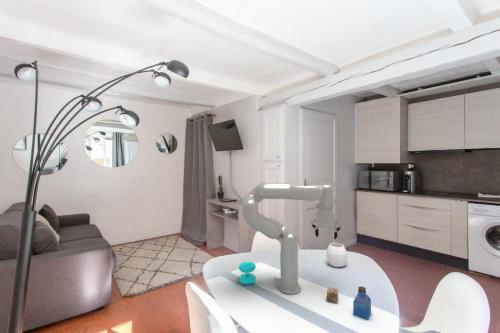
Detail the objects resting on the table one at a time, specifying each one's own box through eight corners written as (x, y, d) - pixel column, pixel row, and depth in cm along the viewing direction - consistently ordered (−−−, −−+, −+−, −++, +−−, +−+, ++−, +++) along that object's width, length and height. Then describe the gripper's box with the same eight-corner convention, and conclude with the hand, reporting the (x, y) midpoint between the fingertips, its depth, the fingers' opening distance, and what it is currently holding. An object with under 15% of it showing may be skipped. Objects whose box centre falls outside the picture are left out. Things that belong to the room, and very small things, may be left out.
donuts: (240, 260, 151) (256, 261, 149) (241, 276, 151) (257, 277, 149) (236, 267, 141) (253, 268, 139) (237, 284, 141) (254, 286, 139)
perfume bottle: (356, 308, 117) (356, 283, 117) (371, 313, 113) (370, 287, 113) (353, 315, 112) (353, 289, 112) (368, 320, 108) (367, 293, 108)
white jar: (322, 264, 165) (322, 245, 165) (332, 259, 174) (332, 240, 174) (341, 271, 156) (341, 250, 155) (351, 264, 165) (350, 244, 164)
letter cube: (326, 301, 123) (326, 291, 123) (328, 296, 127) (327, 286, 127) (337, 304, 121) (337, 293, 121) (338, 298, 125) (338, 288, 125)
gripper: (308, 207, 137) (308, 237, 138) (341, 209, 129) (341, 241, 130) (311, 204, 144) (312, 233, 144) (343, 207, 136) (343, 237, 136)
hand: (326, 237), depth 137 cm, fingers open, 9 cm apart
